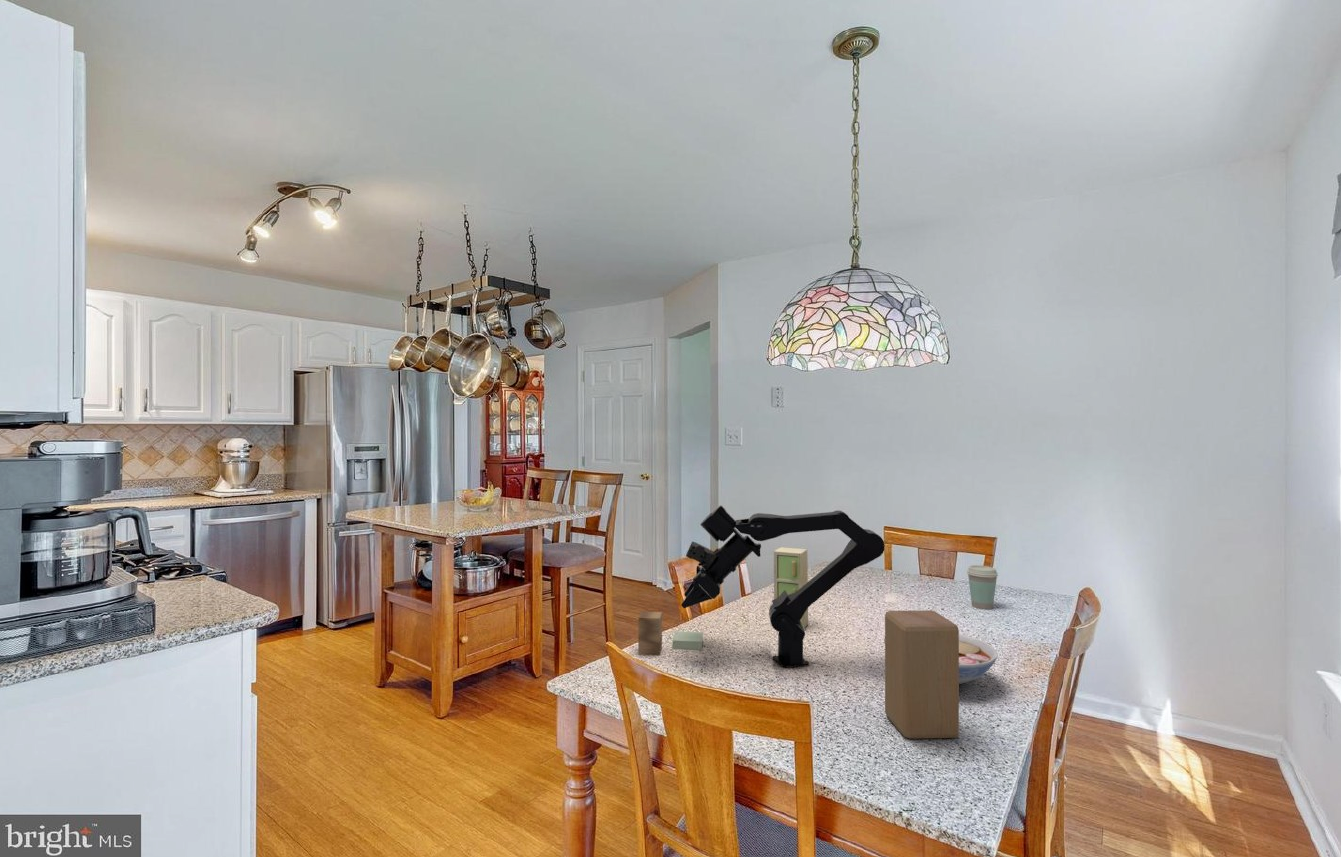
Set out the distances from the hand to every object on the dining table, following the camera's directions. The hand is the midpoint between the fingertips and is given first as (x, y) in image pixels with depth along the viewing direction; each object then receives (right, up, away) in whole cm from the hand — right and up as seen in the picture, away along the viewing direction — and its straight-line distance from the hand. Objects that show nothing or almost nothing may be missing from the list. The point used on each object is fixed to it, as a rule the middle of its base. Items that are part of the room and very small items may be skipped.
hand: (683, 601), depth 146 cm
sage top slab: (+1, -12, +6) cm, 13 cm away
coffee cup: (+93, -14, +44) cm, 104 cm away
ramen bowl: (+55, -14, -12) cm, 58 cm away
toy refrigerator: (+30, -14, +25) cm, 41 cm away
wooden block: (+42, -13, -34) cm, 56 cm away
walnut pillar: (-8, -13, +1) cm, 16 cm away
